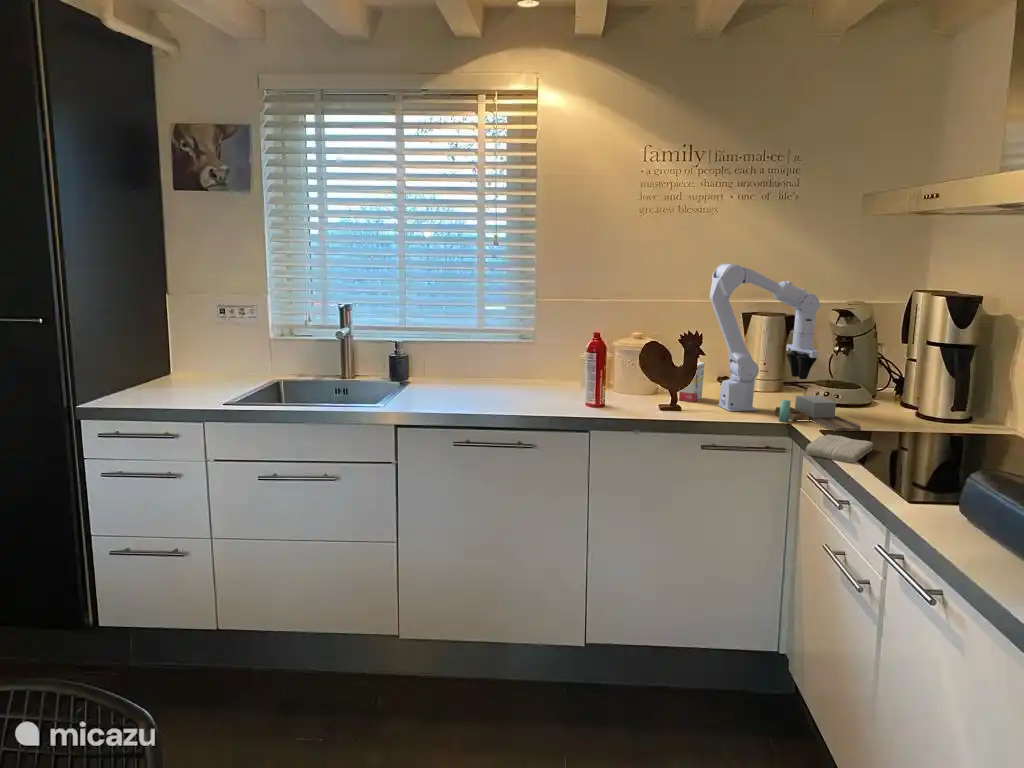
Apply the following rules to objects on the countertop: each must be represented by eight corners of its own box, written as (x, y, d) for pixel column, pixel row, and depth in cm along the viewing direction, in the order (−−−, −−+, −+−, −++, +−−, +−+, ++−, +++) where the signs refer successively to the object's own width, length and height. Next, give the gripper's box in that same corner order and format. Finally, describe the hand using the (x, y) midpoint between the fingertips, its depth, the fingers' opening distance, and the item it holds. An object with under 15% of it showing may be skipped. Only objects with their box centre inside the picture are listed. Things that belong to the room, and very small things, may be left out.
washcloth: (873, 451, 204) (875, 439, 204) (855, 466, 190) (856, 453, 190) (825, 442, 211) (826, 431, 211) (803, 456, 197) (805, 444, 197)
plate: (833, 431, 222) (835, 419, 222) (791, 413, 243) (792, 402, 243) (860, 430, 224) (861, 419, 223) (816, 412, 245) (817, 402, 244)
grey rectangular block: (813, 417, 233) (814, 402, 232) (794, 410, 243) (796, 395, 242) (834, 417, 235) (836, 402, 234) (815, 410, 244) (816, 395, 243)
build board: (792, 421, 232) (793, 415, 232) (774, 413, 242) (775, 407, 242) (809, 421, 233) (810, 414, 233) (790, 413, 243) (791, 406, 243)
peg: (781, 422, 231) (783, 401, 230) (777, 420, 233) (779, 399, 232) (790, 422, 231) (792, 401, 230) (785, 420, 234) (787, 399, 233)
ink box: (693, 402, 254) (696, 365, 252) (678, 400, 257) (680, 363, 255) (702, 398, 261) (705, 362, 259) (688, 396, 264) (690, 360, 262)
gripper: (829, 336, 238) (824, 382, 240) (802, 330, 252) (798, 373, 254) (807, 336, 237) (802, 382, 239) (781, 330, 250) (777, 373, 253)
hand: (799, 377), depth 247 cm, fingers open, 4 cm apart
